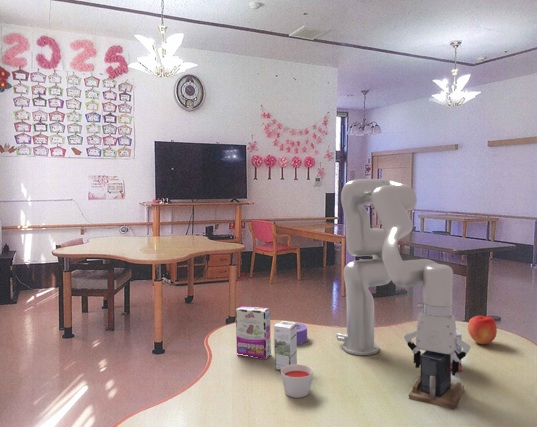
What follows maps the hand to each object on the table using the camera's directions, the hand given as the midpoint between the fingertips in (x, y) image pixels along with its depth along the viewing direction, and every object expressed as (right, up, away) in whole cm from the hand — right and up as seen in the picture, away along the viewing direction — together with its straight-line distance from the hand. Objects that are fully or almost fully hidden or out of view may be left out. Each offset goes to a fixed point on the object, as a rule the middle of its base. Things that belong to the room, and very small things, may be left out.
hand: (435, 369), depth 124 cm
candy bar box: (-52, -6, +30) cm, 60 cm away
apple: (+31, -4, +38) cm, 49 cm away
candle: (-38, -7, +2) cm, 39 cm away
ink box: (+12, -6, +18) cm, 22 cm away
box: (0, -6, 0) cm, 6 cm away
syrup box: (-41, -6, +19) cm, 45 cm away
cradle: (0, -7, 0) cm, 7 cm away
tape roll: (-38, -5, +45) cm, 59 cm away
